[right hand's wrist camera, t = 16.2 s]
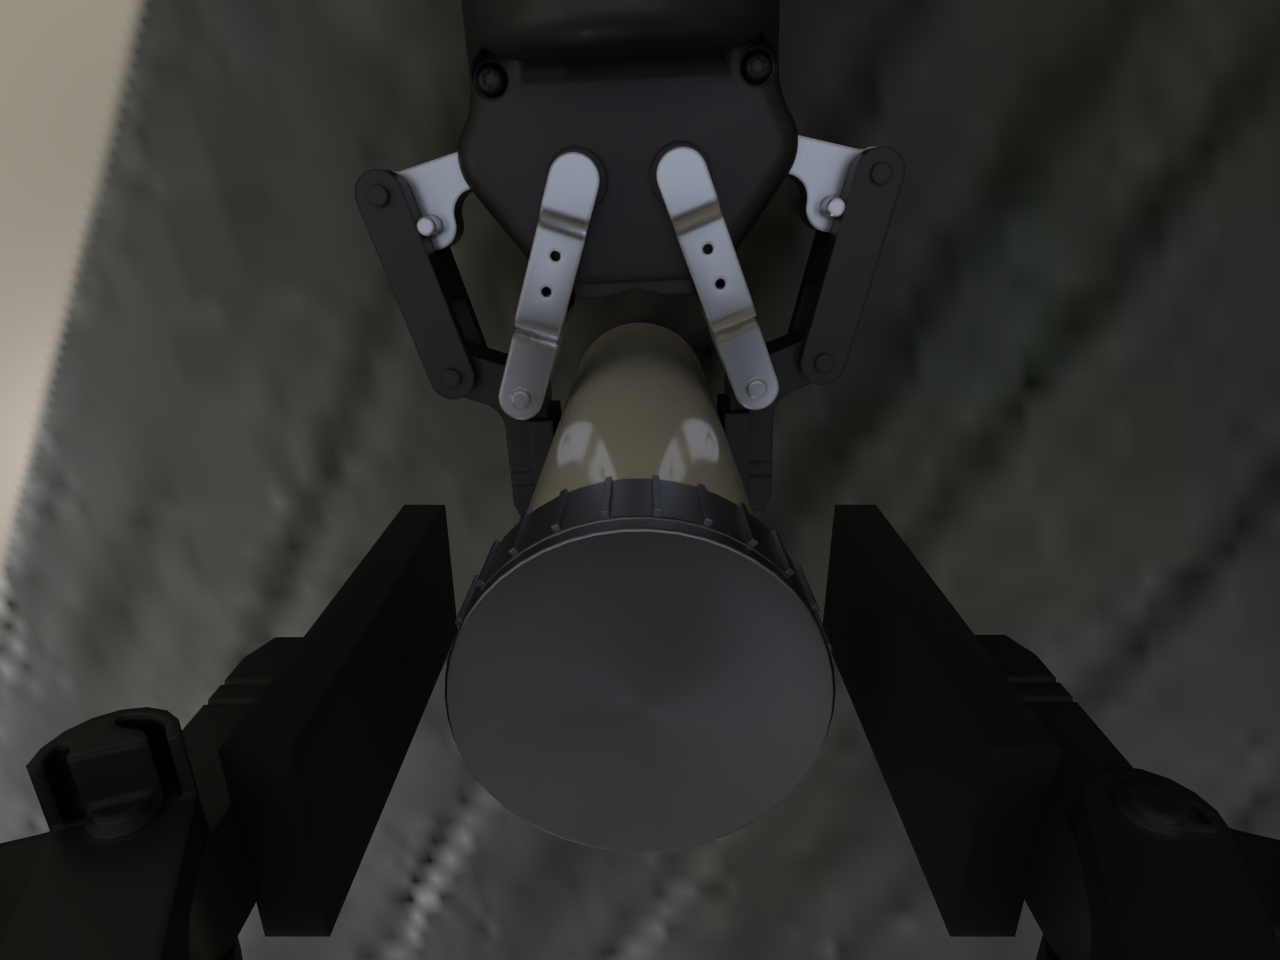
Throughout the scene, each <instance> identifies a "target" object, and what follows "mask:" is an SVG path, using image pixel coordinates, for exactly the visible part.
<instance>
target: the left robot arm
mask: <svg viewBox="0 0 1280 960" xmlns="http://www.w3.org/2000/svg"><path fill="white" fill-rule="evenodd" d="M461 1H462V10H463V19H464V28H465V37H466V46H467V55H468V64H469V74H470V83H471V99H470V107H469V112H468V116H467V120H466V123H465V125H464V128H463V130H462V132H461V135H460V138H459V143H458V152H455V153H452V154H449V155H446V156H443V157H440V158H437V159H434V160H431V161H429V162H426V163H423V164H420V165H417V166H414V167H411V168H408V169H405V170H402V171H391V170H381V169H373V170H369V171H366V172H365V173H363V174H362V175H361V176H360V177H359V179H358V180H357V182H356V185H355V199H356V202H357V205H358V207H359V210H360V212H361V215H362V217H363V219H364V222H365V224H366V227H367V229H368V232H369V234H370V236H371V239H372V241H373V244H374V246H375V249H376V251H377V253H378V256H379V258H380V261H381V263H382V266H383V268H384V271H385V273H386V275H387V278H388V280H389V283H390V285H391V288H392V290H393V292H394V295H395V297H396V300H397V302H398V305H399V307H400V309H401V312H402V314H403V317H404V319H405V322H406V324H407V327H408V329H409V331H410V334H411V336H412V339H413V341H414V344H415V346H416V348H417V351H418V353H419V356H420V358H421V361H422V363H423V366H424V368H425V370H426V373H427V375H428V378H429V380H430V383H431V385H432V387H433V388H434V390H435V391H436V392H437V393H438V394H439V395H441V396H443V397H445V398H448V399H460V398H463V397H464V398H468V399H471V400H474V401H478V402H481V403H484V404H487V405H489V406H491V407H493V408H494V409H495V410H496V411H497V412H498V413H499V414H500V415H501V417H502V419H503V420H504V423H505V427H506V435H507V444H508V453H509V462H510V471H511V480H512V486H513V487H512V489H513V497H514V505H515V507H516V508H517V510H518V512H519V514H520V516H522V514H523V513H524V512H525V511H527V510H528V507H529V505H530V502H531V499H532V496H533V493H534V491H535V488H536V485H537V482H538V479H539V477H540V474H541V471H542V468H543V465H544V463H545V460H546V457H547V454H548V451H549V449H550V446H551V443H552V440H553V437H554V435H555V432H556V429H557V426H558V423H559V421H560V418H561V403H560V400H556V401H553V400H552V389H551V385H552V382H553V379H554V375H555V371H556V367H557V364H558V360H559V356H560V353H561V349H562V345H563V341H564V338H565V334H566V331H567V327H568V324H569V321H570V318H571V314H572V311H573V307H574V303H575V300H576V299H593V298H605V297H608V296H611V295H615V294H618V293H621V292H624V291H627V290H630V289H639V290H643V291H648V292H652V293H656V294H661V295H682V294H694V293H695V295H696V298H697V301H698V303H699V306H700V309H701V311H702V314H703V317H704V319H705V322H706V324H707V327H708V329H709V332H710V335H711V338H712V340H713V343H714V346H715V348H716V351H717V354H718V356H719V359H720V362H721V365H722V367H723V370H724V373H725V394H717V412H718V415H719V418H720V421H721V424H722V426H723V429H724V432H725V435H726V438H727V440H728V443H729V446H730V449H731V452H732V454H733V457H734V460H735V463H736V466H737V469H738V471H739V474H740V477H741V480H742V483H743V485H744V488H745V491H746V494H747V497H748V499H749V502H750V505H751V508H752V511H764V510H765V508H766V505H767V503H768V501H769V499H770V496H771V486H772V477H771V474H772V435H773V413H774V409H775V407H776V405H777V403H778V402H779V400H780V399H781V398H782V397H783V396H784V395H786V394H787V393H789V392H791V391H793V390H796V389H798V388H801V387H804V386H806V385H809V384H811V383H815V384H819V385H825V384H829V383H832V382H834V381H835V380H837V379H838V378H839V377H840V376H841V375H842V373H843V371H844V369H845V367H846V363H847V360H848V357H849V354H850V351H851V347H852V344H853V341H854V338H855V334H856V331H857V328H858V325H859V322H860V318H861V315H862V312H863V309H864V305H865V302H866V299H867V296H868V293H869V289H870V286H871V283H872V280H873V276H874V273H875V270H876V267H877V264H878V260H879V257H880V254H881V251H882V247H883V244H884V241H885V238H886V235H887V231H888V228H889V225H890V222H891V218H892V215H893V212H894V209H895V206H896V202H897V199H898V196H899V193H900V189H901V186H902V183H903V180H904V176H905V164H904V160H903V158H902V156H901V155H900V154H899V153H898V152H897V151H896V150H895V149H893V148H891V147H887V146H880V147H868V148H863V149H855V148H851V147H847V146H843V145H838V144H834V143H830V142H825V141H821V140H817V139H812V138H808V137H804V136H799V135H798V132H797V128H796V124H795V121H794V119H793V117H792V115H791V113H790V111H789V109H788V107H787V105H786V103H785V100H784V97H783V94H782V91H781V86H780V81H779V68H778V52H779V2H780V0H461ZM787 176H788V177H790V178H791V179H792V180H793V181H794V182H795V183H796V185H797V186H798V189H799V192H800V206H799V211H800V216H801V218H802V220H803V222H804V223H805V224H806V225H807V226H808V227H810V228H812V229H815V230H816V233H815V237H814V240H813V244H812V247H811V251H810V255H809V258H808V262H807V265H806V269H805V273H804V276H803V280H802V283H801V287H800V291H799V294H798V298H797V301H796V305H795V309H794V312H793V316H792V319H791V323H790V327H789V330H788V334H787V335H785V336H782V337H780V338H777V339H775V340H772V341H770V342H767V343H765V342H764V339H763V336H762V333H761V330H760V327H759V324H758V321H757V315H756V311H755V308H754V305H753V302H752V299H751V296H750V293H749V290H748V287H747V284H746V281H745V279H744V276H743V273H742V270H741V267H740V264H739V261H738V258H737V255H736V250H737V249H738V247H739V246H740V245H741V243H742V242H743V240H744V239H745V237H746V236H747V234H748V233H749V231H750V230H751V228H752V227H753V225H754V224H755V222H756V221H757V219H758V218H759V216H760V215H761V213H762V212H763V211H764V209H765V208H766V206H767V205H768V203H769V202H770V200H771V199H772V197H773V196H774V194H775V193H776V191H777V190H778V188H779V187H780V185H781V184H782V182H783V181H784V179H785V178H786V177H787ZM472 191H473V193H474V194H475V195H476V196H477V197H478V199H479V200H480V201H481V202H482V204H483V205H484V206H485V207H486V209H487V210H488V211H489V212H490V213H491V215H492V216H493V217H494V218H495V220H496V221H497V222H498V223H499V224H500V226H501V227H502V228H503V229H504V231H505V232H506V233H507V234H508V235H509V237H510V238H511V239H512V240H513V242H514V243H515V244H516V245H517V246H518V248H519V249H520V250H521V251H522V253H523V254H524V255H525V256H526V258H527V259H528V260H529V262H528V266H527V270H526V274H525V278H524V282H523V287H522V291H521V295H520V299H519V303H518V307H517V311H516V316H515V320H514V326H513V337H512V341H511V345H510V350H509V354H506V353H503V352H500V351H496V350H493V349H490V348H488V347H487V345H486V342H485V339H484V337H483V334H482V331H481V329H480V326H479V323H478V321H477V318H476V315H475V313H474V310H473V307H472V305H471V302H470V299H469V297H468V294H467V291H466V289H465V286H464V283H463V281H462V278H461V275H460V273H459V270H458V267H457V265H456V262H455V259H454V257H453V254H452V251H451V249H450V246H453V245H454V244H456V243H457V242H458V241H459V240H460V239H461V237H462V235H463V231H464V222H463V217H462V206H463V202H464V200H465V198H466V197H467V196H468V195H469V194H470V193H471V192H472Z"/></svg>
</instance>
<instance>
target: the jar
mask: <svg viewBox="0 0 1280 960" xmlns="http://www.w3.org/2000/svg"><path fill="white" fill-rule="evenodd" d="M652 475H659V479H660V480H669V481H675V482H679V483H684V484H688V485H692V486H696V487H697V486H698V484H699V483H700V484H703V485H705V488H706V490H707V491H710V492H712V493H715V494H718V495H719V496H721V497H723V498H725V499H727V500H729V501H731V502H733V503H735V504H737V505H738V504H739V503H740V502H742V503H743V504H745V505H746V507H747V510H748V513H750V514H751V515H753V516H754V514H753V511H752V508H751V505H750V502H749V499H748V497H747V494H746V491H745V488H744V485H743V483H742V480H741V477H740V474H739V471H738V469H737V466H736V463H735V460H734V457H733V454H732V452H731V449H730V446H729V443H728V440H727V438H726V435H725V432H724V429H723V426H722V424H721V421H720V418H719V415H718V412H717V409H716V407H715V404H714V401H713V398H712V395H711V393H710V390H709V387H708V384H707V381H706V379H705V376H704V373H703V370H702V367H701V365H700V362H699V359H698V358H697V356H696V354H695V352H694V351H693V349H692V348H691V347H690V345H689V344H688V343H687V342H686V341H685V340H684V339H683V338H681V337H680V336H679V335H678V334H676V333H675V332H673V331H671V330H669V329H667V328H665V327H663V326H659V325H656V324H651V323H629V324H625V325H621V326H618V327H615V328H613V329H611V330H609V331H607V332H605V333H604V334H603V335H601V336H600V337H599V338H597V339H596V340H595V341H594V342H593V343H592V344H591V346H590V347H589V348H588V349H587V351H586V352H585V354H584V356H583V358H582V360H581V362H580V365H579V367H578V370H577V373H576V376H575V379H574V381H573V384H572V387H571V390H570V393H569V395H568V398H567V401H566V404H565V407H564V409H563V412H562V415H561V418H560V421H559V423H558V426H557V429H556V432H555V435H554V437H553V440H552V443H551V446H550V449H549V451H548V454H547V457H546V460H545V463H544V465H543V468H542V471H541V474H540V477H539V479H538V482H537V485H536V488H535V491H534V493H533V496H532V499H531V502H530V505H529V507H528V512H529V513H532V512H533V511H534V510H536V509H537V508H539V507H540V506H542V505H544V504H546V503H547V502H549V501H551V500H553V499H554V498H556V497H558V496H559V495H560V491H561V490H564V489H566V488H567V490H568V492H570V491H573V490H575V489H578V488H581V487H585V486H588V485H592V484H596V483H600V482H605V477H611V476H612V479H613V480H619V479H641V478H650V479H652ZM754 517H755V516H754Z"/></svg>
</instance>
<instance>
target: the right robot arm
mask: <svg viewBox="0 0 1280 960" xmlns="http://www.w3.org/2000/svg"><path fill="white" fill-rule="evenodd" d="M456 619H457V618H456V608H455V598H454V588H453V579H452V569H451V559H450V549H449V539H448V530H447V520H446V510H445V505H404V506H403V507H402V509H401V510H400V511H399V513H398V514H397V515H396V517H395V518H394V519H393V521H392V522H391V523H390V525H389V526H388V527H387V528H386V530H385V531H384V532H383V534H382V535H381V536H380V538H379V539H378V540H377V542H376V543H375V544H374V546H373V547H372V548H371V549H370V551H369V552H368V553H367V555H366V556H365V557H364V559H363V560H362V561H361V563H360V564H359V565H358V567H357V568H356V569H355V571H354V572H353V573H352V574H351V576H350V577H349V578H348V580H347V581H346V582H345V584H344V585H343V586H342V588H341V589H340V590H339V592H338V593H337V594H336V595H335V597H334V598H333V599H332V601H331V602H330V603H329V605H328V606H327V607H326V609H325V610H324V611H323V613H322V614H321V615H320V617H319V618H318V619H317V620H316V622H315V623H314V624H313V626H312V627H311V628H310V630H309V631H308V632H307V634H306V635H305V636H304V637H275V638H274V639H272V640H271V641H269V642H268V643H266V644H264V645H263V646H261V647H260V648H258V649H257V650H255V651H254V652H252V653H251V654H249V655H247V656H246V657H245V658H244V659H243V660H242V661H241V662H240V663H239V665H238V666H237V667H236V668H235V669H234V670H233V672H232V673H231V674H230V675H229V676H228V677H227V679H226V680H225V684H224V685H221V686H220V687H219V688H218V689H217V690H216V691H215V693H214V694H213V695H212V696H211V697H210V698H209V700H208V705H203V707H202V708H201V709H200V710H199V711H198V712H197V714H196V715H195V716H194V717H193V718H192V719H191V721H190V722H189V723H188V724H187V725H186V726H185V728H184V729H183V730H181V727H180V723H179V719H177V718H176V717H175V716H174V715H172V714H171V713H170V712H168V711H167V710H161V709H155V708H149V707H144V708H134V709H124V710H119V711H115V712H112V713H109V714H105V715H102V716H98V717H95V718H92V719H90V720H88V721H86V722H83V723H81V724H79V725H77V726H75V727H73V728H71V729H69V730H67V731H64V732H63V733H62V734H60V735H59V736H57V737H56V738H55V739H53V740H52V741H50V742H49V743H48V744H46V745H45V746H43V747H42V748H41V749H40V750H39V751H38V752H37V754H36V755H35V756H34V757H33V759H32V760H31V761H30V762H29V763H28V765H27V766H26V767H27V770H28V773H29V775H30V778H31V781H32V783H33V786H34V789H35V791H36V794H37V797H38V800H39V802H40V805H41V808H42V810H43V813H44V816H45V818H46V821H47V824H48V826H49V829H50V832H47V833H43V834H40V835H35V836H31V837H27V838H22V839H18V840H13V841H9V842H5V843H0V960H243V959H242V952H241V947H240V943H239V940H238V935H239V933H240V931H241V929H242V927H243V925H244V923H245V922H246V920H247V918H248V916H249V914H250V912H251V911H252V909H253V907H254V905H255V903H256V902H257V906H258V910H259V914H260V918H261V922H262V926H263V930H264V933H265V936H330V935H331V932H332V930H333V927H334V925H335V923H336V920H337V918H338V915H339V913H340V911H341V908H342V906H343V904H344V901H345V899H346V896H347V894H348V892H349V889H350V887H351V884H352V882H353V880H354V877H355V875H356V872H357V870H358V868H359V865H360V863H361V861H362V858H363V856H364V853H365V851H366V849H367V846H368V844H369V841H370V839H371V837H372V834H373V832H374V829H375V827H376V825H377V822H378V820H379V818H380V815H381V813H382V810H383V808H384V806H385V803H386V801H387V798H388V796H389V794H390V791H391V789H392V786H393V784H394V782H395V779H396V777H397V775H398V772H399V770H400V767H401V765H402V763H403V760H404V758H405V755H406V753H407V751H408V748H409V746H410V743H411V741H412V739H413V736H414V734H415V732H416V729H417V727H418V724H419V722H420V720H421V717H422V715H423V712H424V710H425V708H426V705H427V703H428V700H429V698H430V696H431V693H432V691H433V689H434V686H435V684H436V681H437V679H438V677H439V674H440V672H441V669H442V667H443V665H444V662H445V660H446V657H447V655H448V653H449V650H450V648H451V646H452V643H453V641H454V638H455V636H456V634H457V631H458V627H457V625H456V624H455V621H456ZM823 627H824V630H825V632H826V634H827V637H828V639H829V641H830V644H831V647H832V651H831V653H832V655H833V657H834V660H835V662H836V665H837V667H838V669H839V672H840V674H841V677H842V679H843V681H844V684H845V686H846V689H847V691H848V693H849V696H850V698H851V700H852V703H853V705H854V708H855V710H856V712H857V715H858V717H859V720H860V722H861V724H862V727H863V729H864V731H865V734H866V736H867V739H868V741H869V743H870V746H871V748H872V751H873V753H874V755H875V758H876V760H877V763H878V765H879V767H880V770H881V772H882V774H883V777H884V779H885V782H886V784H887V786H888V789H889V791H890V794H891V796H892V798H893V801H894V803H895V806H896V808H897V810H898V813H899V815H900V817H901V820H902V822H903V825H904V827H905V829H906V832H907V834H908V837H909V839H910V841H911V844H912V846H913V849H914V851H915V853H916V856H917V858H918V860H919V863H920V865H921V868H922V870H923V872H924V875H925V877H926V880H927V882H928V884H929V887H930V889H931V892H932V894H933V896H934V899H935V901H936V903H937V906H938V908H939V911H940V913H941V915H942V918H943V920H944V923H945V925H946V927H947V930H948V932H949V935H950V936H1015V934H1016V930H1017V926H1018V922H1019V918H1020V914H1021V910H1022V906H1023V902H1024V899H1025V901H1026V903H1027V905H1028V907H1029V909H1030V910H1031V912H1032V914H1033V916H1034V918H1035V919H1036V921H1037V923H1038V925H1039V927H1040V929H1041V930H1042V932H1043V936H1042V939H1041V943H1040V947H1039V951H1038V954H1037V958H1036V960H1280V840H1277V839H1272V838H1268V837H1264V836H1259V835H1255V834H1250V833H1246V832H1242V831H1238V830H1234V829H1231V828H1229V827H1228V826H1227V824H1226V823H1225V822H1224V820H1223V819H1222V817H1221V816H1220V815H1219V813H1218V812H1217V810H1215V809H1214V808H1213V807H1212V806H1211V805H1209V804H1208V803H1207V802H1206V801H1204V800H1203V799H1202V798H1201V797H1200V796H1198V795H1197V794H1196V793H1195V792H1193V791H1191V790H1189V789H1187V788H1185V787H1184V786H1182V785H1180V784H1178V783H1176V782H1174V781H1172V780H1171V779H1169V778H1166V777H1163V776H1160V775H1157V774H1154V773H1151V772H1148V771H1145V770H1142V769H1135V768H1133V767H1132V766H1131V765H1130V764H1129V762H1128V761H1127V760H1126V759H1125V758H1124V757H1123V755H1122V754H1121V753H1120V752H1119V751H1118V750H1117V748H1116V747H1115V746H1114V745H1113V744H1112V743H1111V742H1110V740H1109V739H1108V738H1107V737H1106V736H1105V735H1104V733H1103V732H1102V731H1101V730H1100V729H1099V728H1098V726H1097V725H1096V724H1095V723H1094V722H1093V721H1092V719H1091V718H1090V717H1089V716H1088V715H1087V714H1086V712H1085V711H1084V710H1083V709H1082V708H1081V707H1080V706H1079V704H1078V703H1077V702H1073V700H1072V696H1071V695H1070V694H1069V693H1068V692H1067V690H1066V689H1065V688H1064V687H1063V686H1062V685H1061V683H1056V678H1055V677H1054V675H1053V674H1052V673H1051V672H1050V671H1049V670H1048V668H1047V667H1046V666H1045V665H1044V664H1043V663H1042V661H1041V660H1040V659H1039V658H1038V657H1037V656H1036V655H1035V654H1034V653H1032V652H1031V651H1029V650H1028V649H1026V648H1024V647H1023V646H1021V645H1020V644H1018V643H1017V642H1015V641H1014V640H1012V639H1010V638H1009V637H1007V636H1006V635H974V634H973V632H972V631H971V630H970V628H969V627H968V626H967V624H966V623H965V622H964V620H963V619H962V618H961V617H960V615H959V614H958V613H957V611H956V610H955V609H954V607H953V606H952V605H951V603H950V602H949V601H948V599H947V598H946V597H945V595H944V594H943V593H942V592H941V590H940V589H939V588H938V586H937V585H936V584H935V582H934V581H933V580H932V578H931V577H930V576H929V574H928V573H927V572H926V571H925V569H924V568H923V567H922V565H921V564H920V563H919V561H918V560H917V559H916V557H915V556H914V555H913V553H912V552H911V551H910V549H909V548H908V547H907V546H906V544H905V543H904V542H903V540H902V539H901V538H900V536H899V535H898V534H897V532H896V531H895V530H894V528H893V527H892V526H891V524H890V523H889V522H888V521H887V519H886V518H885V517H884V515H883V514H882V513H881V511H880V510H879V509H878V507H877V506H876V505H835V510H834V520H833V530H832V540H831V549H830V559H829V569H828V579H827V588H826V598H825V608H824V618H823Z"/></svg>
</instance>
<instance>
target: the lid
mask: <svg viewBox="0 0 1280 960" xmlns="http://www.w3.org/2000/svg"><path fill="white" fill-rule="evenodd" d="M818 611H820V610H819V607H818V605H817V603H816V600H815V598H814V596H813V593H812V591H811V589H810V587H809V584H808V582H807V580H806V577H805V575H804V573H803V570H802V568H801V566H800V564H799V563H796V564H793V562H792V560H791V559H790V557H789V555H788V554H787V552H786V550H785V548H784V546H783V543H782V541H781V538H780V536H779V533H778V532H777V531H776V530H775V529H774V530H772V531H771V532H770V531H769V530H768V529H767V528H766V527H765V526H764V525H763V524H762V523H761V522H760V521H759V520H758V519H756V518H755V517H754V516H753V515H751V514H750V513H748V510H747V507H746V505H745V504H743V503H742V502H740V503H739V504H738V505H737V504H735V503H733V502H731V501H729V500H727V499H725V498H723V497H721V496H719V495H718V494H715V493H712V492H710V491H707V490H706V488H705V485H703V484H700V483H699V484H698V486H697V487H696V486H692V485H688V484H684V483H679V482H675V481H669V480H660V479H659V475H652V479H650V478H641V479H619V480H613V479H612V476H611V477H605V482H600V483H596V484H592V485H588V486H585V487H581V488H578V489H575V490H573V491H570V492H568V490H567V488H566V489H564V490H561V491H560V495H559V496H558V497H556V498H554V499H553V500H551V501H549V502H547V503H546V504H544V505H542V506H540V507H539V508H537V509H536V510H534V511H533V512H532V513H529V512H528V510H527V511H525V512H524V513H523V514H522V516H521V518H520V521H519V523H518V524H517V525H516V526H515V527H514V528H513V529H512V530H511V531H510V532H509V533H508V534H507V535H506V536H505V537H504V538H503V540H502V541H501V542H499V541H497V540H495V542H494V543H493V545H492V547H491V549H490V552H489V554H488V556H487V559H486V561H485V564H484V566H483V568H482V571H481V573H480V575H479V576H478V575H475V577H474V579H473V582H472V584H471V586H470V589H469V591H468V593H467V595H466V598H465V600H464V602H463V605H462V607H461V609H460V612H459V614H458V616H457V619H456V621H455V624H456V625H459V629H458V631H457V634H456V636H455V639H454V642H453V645H452V648H451V650H450V653H449V655H448V658H447V669H446V675H445V701H446V708H447V716H448V720H449V724H450V727H451V730H452V734H453V737H454V740H455V742H456V744H457V746H458V748H459V751H460V753H461V755H462V757H463V759H464V760H465V762H466V763H467V765H468V766H469V768H470V770H471V771H472V773H473V774H474V776H475V777H476V778H477V779H478V780H479V782H480V783H481V784H482V785H483V786H484V787H485V788H486V790H487V791H488V792H489V793H490V794H491V795H492V796H493V797H495V798H496V799H497V800H498V801H499V802H500V803H501V804H502V805H503V806H505V807H506V808H507V809H509V810H510V811H512V812H513V813H514V814H516V815H517V816H519V817H520V818H522V819H523V820H525V821H527V822H528V823H530V824H532V825H534V826H536V827H538V828H539V829H541V830H543V831H546V832H548V833H550V834H553V835H555V836H558V837H560V838H563V839H566V840H569V841H572V842H576V843H579V844H583V845H586V846H591V847H597V848H602V849H607V850H618V851H630V852H644V851H662V850H671V849H679V848H684V847H688V846H693V845H698V844H702V843H705V842H708V841H711V840H714V839H717V838H720V837H723V836H725V835H727V834H729V833H732V832H734V831H736V830H738V829H741V828H743V827H745V826H746V825H748V824H750V823H751V822H753V821H755V820H757V819H758V818H760V817H762V816H763V815H764V814H766V813H767V812H768V811H770V810H771V809H772V808H774V807H775V806H776V805H778V804H779V803H780V802H781V801H782V800H783V799H784V798H785V797H786V796H787V795H788V794H790V793H791V792H792V791H793V790H794V789H795V788H796V786H797V785H798V784H799V783H800V781H801V780H802V779H803V778H804V776H805V775H806V774H807V773H808V771H809V770H810V768H811V767H812V765H813V763H814V762H815V760H816V758H817V757H818V755H819V753H820V751H821V749H822V746H823V744H824V741H825V739H826V737H827V734H828V731H829V727H830V723H831V719H832V715H833V710H834V699H835V680H834V668H833V664H832V659H831V655H830V651H832V647H831V644H830V641H829V639H828V637H827V634H826V632H825V630H824V627H823V625H822V622H821V620H820V618H819V615H818V613H817V612H818Z"/></svg>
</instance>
